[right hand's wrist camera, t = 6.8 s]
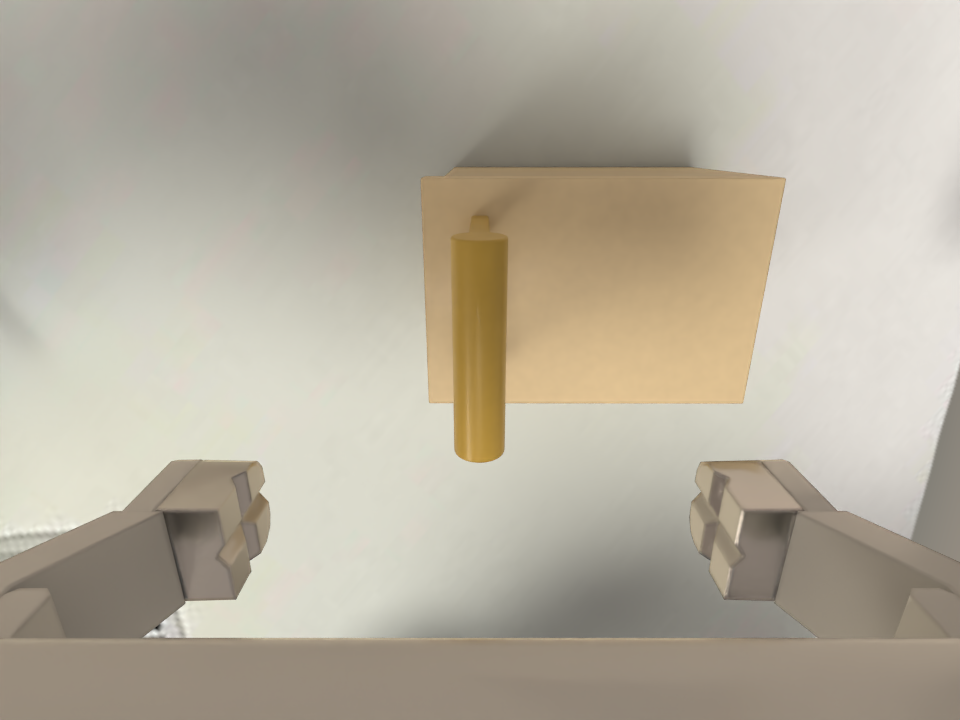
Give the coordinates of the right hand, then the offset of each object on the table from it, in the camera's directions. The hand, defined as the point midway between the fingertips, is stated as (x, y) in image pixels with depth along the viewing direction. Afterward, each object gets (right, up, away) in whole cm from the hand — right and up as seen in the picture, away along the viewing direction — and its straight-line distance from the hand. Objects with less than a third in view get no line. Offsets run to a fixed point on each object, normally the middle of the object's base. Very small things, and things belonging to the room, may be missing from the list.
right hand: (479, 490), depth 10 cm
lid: (+5, +6, +14) cm, 16 cm away
